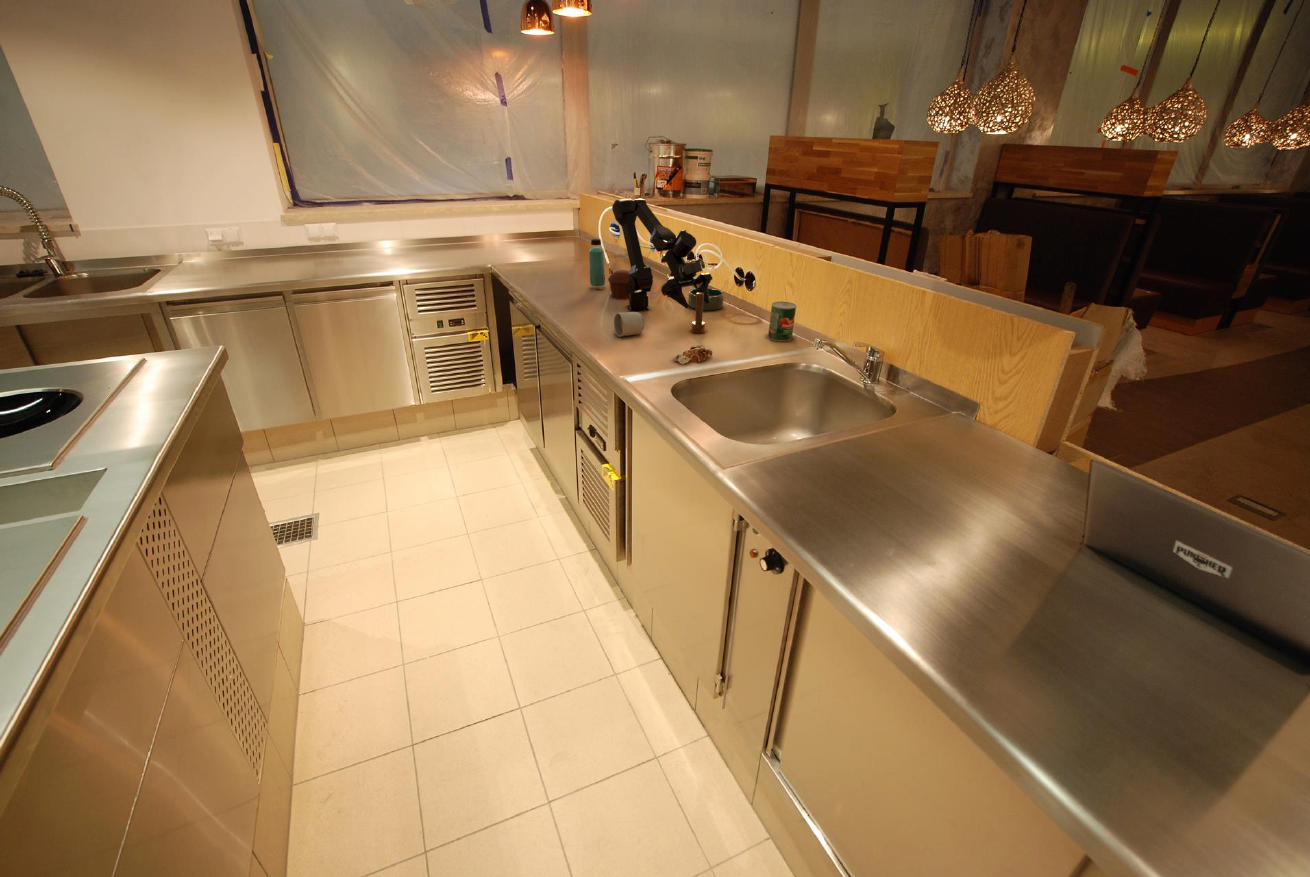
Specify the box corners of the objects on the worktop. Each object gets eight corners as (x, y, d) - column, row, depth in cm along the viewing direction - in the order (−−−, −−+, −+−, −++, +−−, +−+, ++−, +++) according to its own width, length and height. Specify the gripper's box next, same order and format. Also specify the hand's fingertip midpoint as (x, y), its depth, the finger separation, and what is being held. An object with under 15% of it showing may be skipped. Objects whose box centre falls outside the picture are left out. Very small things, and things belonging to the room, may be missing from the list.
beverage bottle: (603, 290, 240) (601, 240, 231) (587, 289, 241) (585, 239, 232) (607, 286, 246) (606, 238, 236) (592, 285, 247) (590, 237, 237)
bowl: (695, 312, 214) (696, 297, 211) (683, 303, 225) (684, 289, 222) (728, 310, 217) (729, 295, 215) (714, 301, 228) (715, 287, 226)
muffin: (632, 291, 239) (632, 267, 234) (640, 298, 230) (640, 273, 225) (605, 293, 236) (604, 268, 231) (611, 300, 227) (611, 274, 222)
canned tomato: (787, 343, 185) (791, 309, 180) (764, 338, 188) (767, 305, 183) (795, 336, 191) (800, 303, 185) (773, 332, 194) (777, 300, 189)
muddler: (694, 334, 191) (696, 295, 185) (689, 330, 195) (691, 292, 189) (706, 333, 193) (708, 294, 186) (701, 329, 196) (703, 291, 190)
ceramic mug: (645, 336, 189) (645, 313, 185) (623, 339, 185) (622, 316, 181) (631, 327, 197) (630, 305, 193) (609, 330, 193) (608, 308, 190)
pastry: (670, 360, 169) (670, 348, 168) (697, 351, 177) (698, 340, 175) (687, 367, 165) (688, 355, 163) (715, 357, 172) (715, 346, 171)
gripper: (667, 254, 181) (689, 296, 178) (710, 248, 191) (731, 287, 189) (651, 274, 190) (672, 315, 188) (693, 268, 200) (713, 306, 198)
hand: (698, 305), depth 190 cm, fingers open, 9 cm apart
